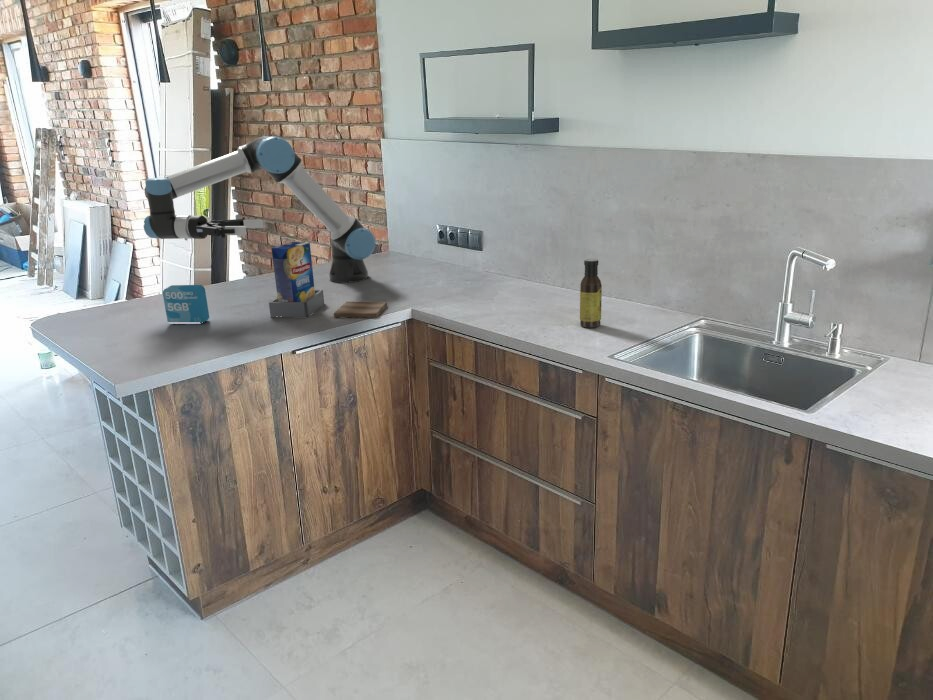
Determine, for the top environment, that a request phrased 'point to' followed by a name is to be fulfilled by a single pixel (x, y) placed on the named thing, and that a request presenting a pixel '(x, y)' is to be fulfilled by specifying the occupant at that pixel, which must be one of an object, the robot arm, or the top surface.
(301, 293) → the beverage box
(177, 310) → the data package
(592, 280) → the sauce bottle
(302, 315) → the charcoal crate
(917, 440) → the top surface
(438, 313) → the top surface
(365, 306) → the brown flat wooden slab
